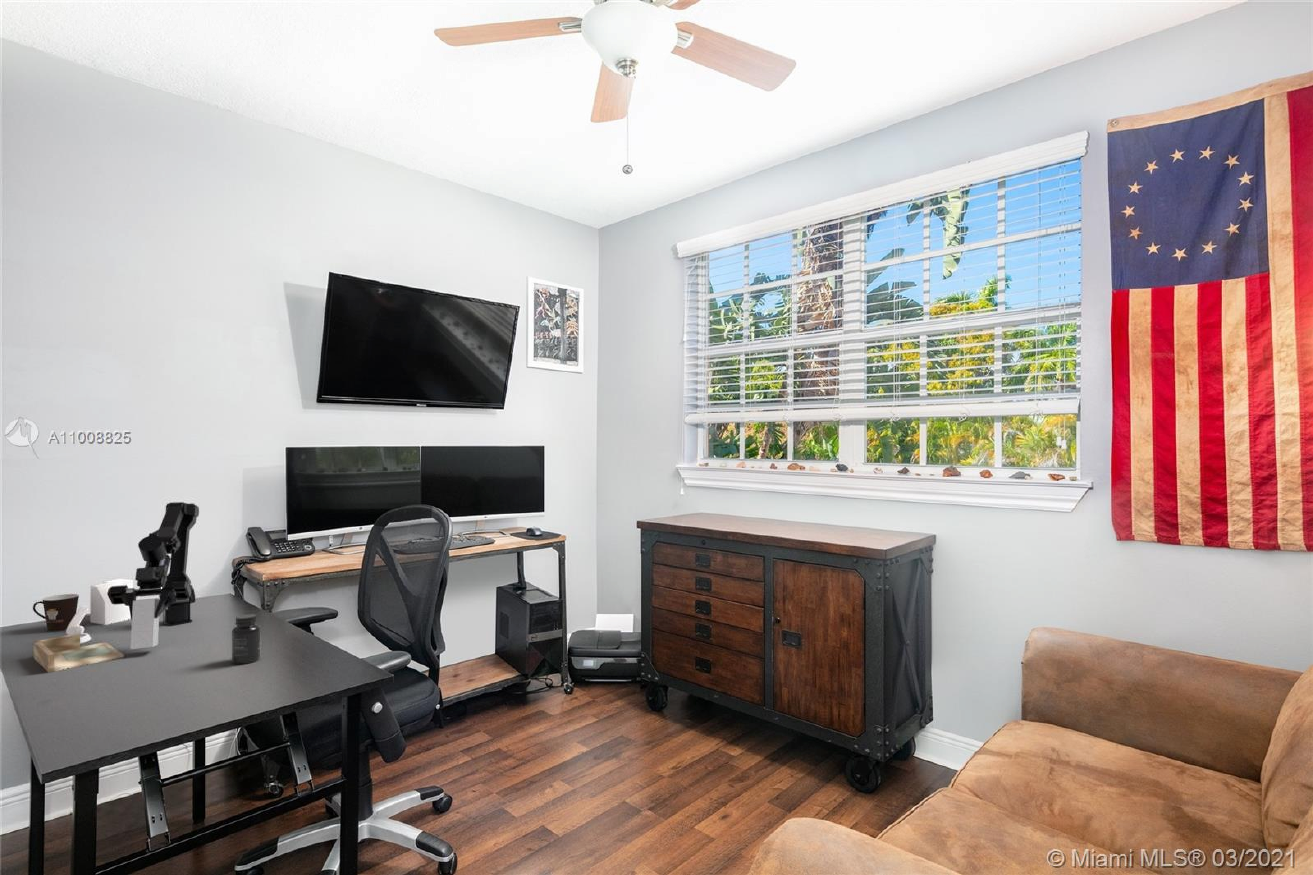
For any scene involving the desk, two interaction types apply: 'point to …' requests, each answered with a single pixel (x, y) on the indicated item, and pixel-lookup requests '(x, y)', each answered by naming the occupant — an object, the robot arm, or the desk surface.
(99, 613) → the white angled block
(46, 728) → the desk surface
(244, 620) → the supplement bottle
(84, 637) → the hook
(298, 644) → the desk surface
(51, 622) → the coffee mug
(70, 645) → the tan wooden shallow tray
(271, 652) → the desk surface
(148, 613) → the aluminium block
